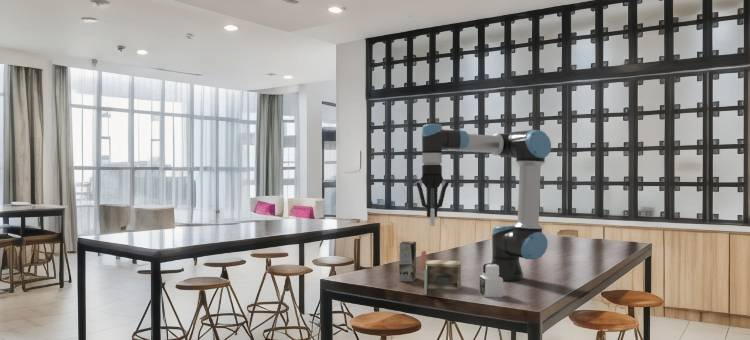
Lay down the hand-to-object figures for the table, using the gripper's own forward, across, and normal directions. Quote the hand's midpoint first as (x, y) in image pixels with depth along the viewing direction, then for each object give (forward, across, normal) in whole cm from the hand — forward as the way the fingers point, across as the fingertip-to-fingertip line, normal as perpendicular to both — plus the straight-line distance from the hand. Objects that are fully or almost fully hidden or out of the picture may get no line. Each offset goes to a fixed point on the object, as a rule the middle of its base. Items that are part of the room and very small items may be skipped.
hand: (431, 225), depth 218 cm
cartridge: (+26, -7, -13) cm, 30 cm away
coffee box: (+27, +5, -29) cm, 39 cm away
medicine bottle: (+27, -22, +4) cm, 35 cm away
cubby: (+26, -7, -13) cm, 30 cm away
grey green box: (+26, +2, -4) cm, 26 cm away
